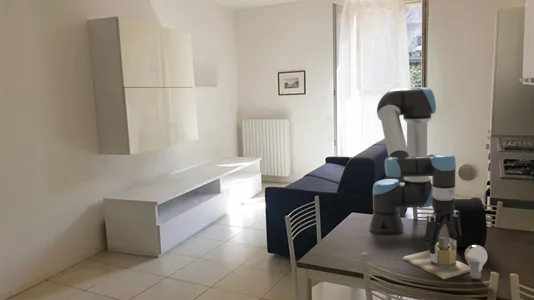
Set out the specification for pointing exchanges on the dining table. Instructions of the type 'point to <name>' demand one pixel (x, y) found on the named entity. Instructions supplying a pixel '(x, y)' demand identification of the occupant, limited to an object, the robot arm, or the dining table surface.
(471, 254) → the light bulb
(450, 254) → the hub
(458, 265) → the shaft stand
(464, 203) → the car wheel rim
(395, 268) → the dining table surface
